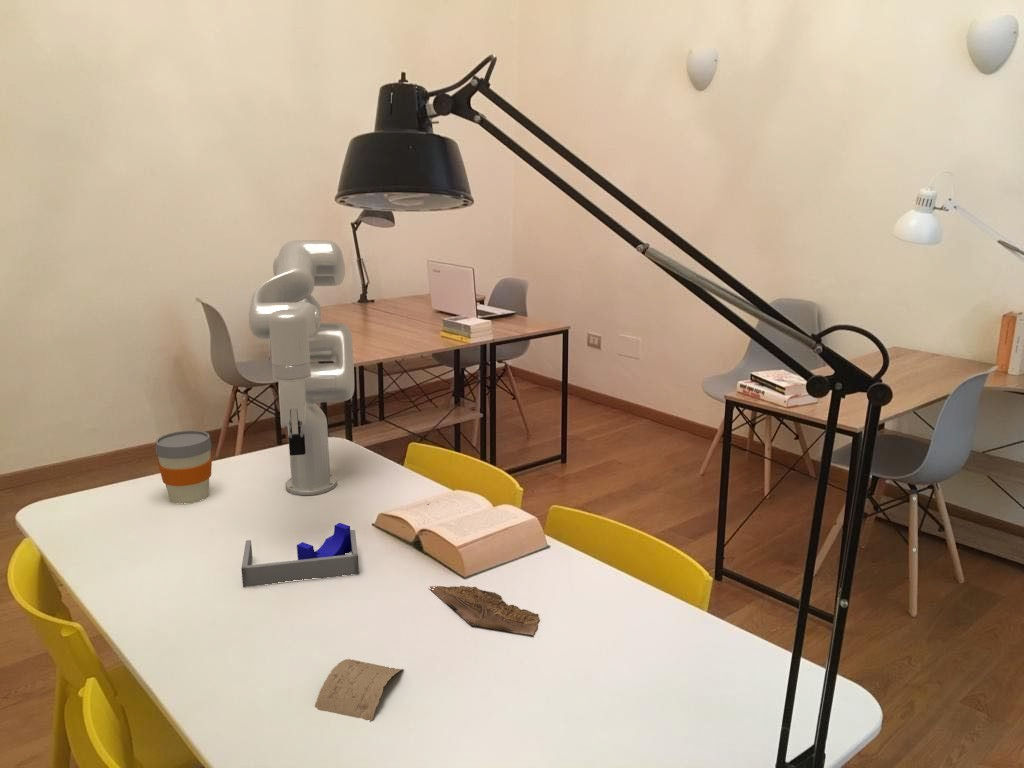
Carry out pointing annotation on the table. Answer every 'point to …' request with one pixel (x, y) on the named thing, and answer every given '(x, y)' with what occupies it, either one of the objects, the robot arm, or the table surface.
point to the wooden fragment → (487, 609)
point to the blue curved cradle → (328, 545)
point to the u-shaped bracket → (298, 567)
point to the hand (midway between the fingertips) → (297, 453)
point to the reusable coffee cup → (185, 465)
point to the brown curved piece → (354, 688)
